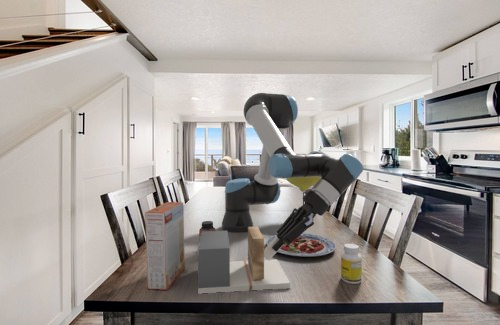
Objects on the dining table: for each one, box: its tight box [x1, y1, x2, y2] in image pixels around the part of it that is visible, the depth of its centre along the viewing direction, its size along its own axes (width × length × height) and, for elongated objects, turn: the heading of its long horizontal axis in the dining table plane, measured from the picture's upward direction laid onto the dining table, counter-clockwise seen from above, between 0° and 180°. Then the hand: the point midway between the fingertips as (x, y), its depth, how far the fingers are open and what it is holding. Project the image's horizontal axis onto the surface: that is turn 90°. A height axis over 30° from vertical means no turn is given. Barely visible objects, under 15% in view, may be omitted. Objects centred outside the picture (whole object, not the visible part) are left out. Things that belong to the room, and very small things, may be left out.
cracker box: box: [144, 201, 186, 291], centre depth 77 cm, size 14×6×21 cm, turn 174°
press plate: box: [247, 226, 265, 280], centre depth 79 cm, size 3×12×11 cm, turn 7°
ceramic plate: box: [266, 232, 337, 258], centre depth 103 cm, size 26×26×3 cm
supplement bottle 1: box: [198, 220, 217, 243], centre depth 97 cm, size 6×6×11 cm
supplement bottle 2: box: [340, 243, 363, 285], centre depth 76 cm, size 5×5×10 cm
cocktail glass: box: [286, 177, 321, 222], centre depth 146 cm, size 18×18×25 cm
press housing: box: [197, 230, 291, 295], centre depth 78 cm, size 24×16×12 cm, turn 97°
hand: (264, 256), depth 79 cm, fingers closed
